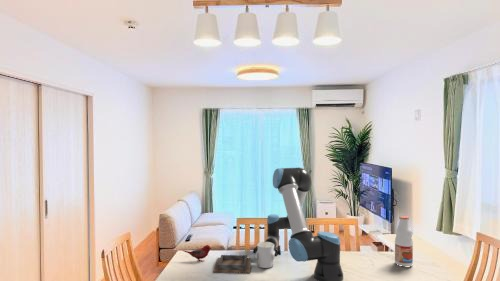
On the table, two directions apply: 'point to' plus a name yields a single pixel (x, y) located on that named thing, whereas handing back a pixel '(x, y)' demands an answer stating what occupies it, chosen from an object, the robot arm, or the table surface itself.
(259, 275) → the table surface
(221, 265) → the brown square wooden tray
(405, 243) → the fruit juice
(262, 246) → the candle holder
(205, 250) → the decorative bird figurine
